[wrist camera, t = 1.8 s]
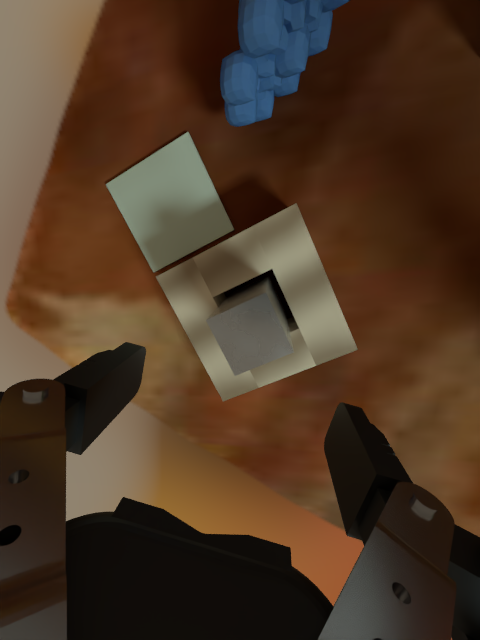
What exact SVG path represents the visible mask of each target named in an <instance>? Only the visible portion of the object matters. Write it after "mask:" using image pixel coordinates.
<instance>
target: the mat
mask: <svg viewBox="0 0 480 640" xmlns="http://www.w3.org/2000/svg"><path fill="white" fill-rule="evenodd" d="M106 186H107V188H108V189H109V191H110V193H111V195H112V197H113V199H114V200H115V202H116V204H117V206H118V208H119V210H120V212H121V213H122V215H123V217H124V219H125V221H126V223H127V225H128V226H129V228H130V230H131V232H132V234H133V236H134V237H135V239H136V241H137V243H138V245H139V247H140V249H141V250H142V252H143V254H144V256H145V258H146V260H147V261H148V263H149V265H150V267H151V269H152V271H153V272H156V271H158V270H160V269H162V268H163V267H165V266H167V265H169V264H171V263H173V262H175V261H177V260H179V259H180V258H182V257H184V256H186V255H188V254H190V253H192V252H194V251H196V250H197V249H199V248H201V247H203V246H205V245H207V244H209V243H211V242H213V241H214V240H216V239H218V238H220V237H222V236H224V235H226V234H228V233H230V232H232V231H233V230H234V228H233V226H232V224H231V222H230V219H229V217H228V215H227V213H226V211H225V209H224V207H223V205H222V202H221V200H220V198H219V196H218V194H217V192H216V190H215V187H214V185H213V183H212V181H211V179H210V177H209V175H208V173H207V170H206V168H205V166H204V164H203V162H202V160H201V158H200V156H199V153H198V151H197V149H196V147H195V145H194V143H193V141H192V138H191V136H190V134H189V133H188V132H187V133H185V134H184V135H182V136H181V137H179V138H177V139H176V140H174V141H173V142H171V143H170V144H168V145H167V146H165V147H163V148H162V149H160V150H159V151H157V152H156V153H154V154H152V155H151V156H149V157H148V158H146V159H145V160H143V161H141V162H140V163H138V164H137V165H135V166H134V167H132V168H131V169H129V170H127V171H126V172H124V173H123V174H121V175H120V176H118V177H116V178H115V179H113V180H112V181H110V182H109V183H107V184H106Z"/></svg>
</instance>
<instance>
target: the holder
mask: <svg viewBox="0 0 480 640" xmlns="http://www.w3.org/2000/svg"><path fill="white" fill-rule="evenodd" d="M271 269H272V270H273V272H274V274H275V276H276V279H277V281H278V283H279V285H280V287H281V290H282V292H283V294H284V296H285V298H286V301H287V303H288V305H289V307H290V309H291V311H292V314H293V317H291V318H289V319H287V321H288V326H289V330H290V335H291V340H292V345H293V350H294V352H293V353H291V354H288V355H286V356H283V357H281V358H278V359H276V360H273V361H271V362H268V363H266V364H264V365H261V366H259V367H256V368H254V369H251V370H249V371H246V372H244V373H241V374H239V375H236V376H235V375H234V373H233V371H232V369H231V368H230V366H229V364H228V362H227V360H226V358H225V356H224V354H223V352H222V350H221V348H220V346H219V345H218V343H217V341H216V339H215V337H214V335H213V333H212V331H211V329H210V327H209V325H208V323H207V322H206V319H207V318H208V317H209V316H210V315H211V314H212V313H213V312H214V311H215V310H216V309H217V308H218V307H219V306H220V304H221V303H222V302H223V301H224V300H225V299H226V296H225V294H224V292H225V291H227V290H229V289H231V288H233V287H235V286H238V285H240V284H242V283H244V282H246V281H248V280H250V279H252V278H254V277H256V276H258V275H260V274H263V273H265V272H267V271H269V270H271ZM156 278H157V280H158V282H159V284H160V285H161V287H162V289H163V291H164V293H165V295H166V297H167V298H168V300H169V302H170V304H171V306H172V308H173V309H174V311H175V313H176V315H177V317H178V319H179V321H180V322H181V324H182V326H183V328H184V330H185V332H186V333H187V335H188V337H189V339H190V341H191V343H192V345H193V346H194V348H195V350H196V352H197V354H198V356H199V358H200V359H201V361H202V363H203V365H204V367H205V369H206V370H207V372H208V374H209V376H210V378H211V380H212V382H213V383H214V385H215V387H216V389H217V391H218V393H219V394H220V396H221V398H222V400H223V401H225V400H228V399H231V398H233V397H236V396H238V395H241V394H244V393H246V392H249V391H251V390H254V389H257V388H259V387H262V386H264V385H267V384H270V383H272V382H275V381H277V380H280V379H283V378H285V377H288V376H290V375H293V374H296V373H298V372H301V371H303V370H306V369H309V368H311V367H314V366H316V365H319V364H322V363H324V362H327V361H329V360H332V359H335V358H337V357H340V356H342V355H345V354H347V353H350V352H353V351H355V350H358V349H357V347H356V344H355V342H354V340H353V337H352V335H351V332H350V330H349V328H348V325H347V323H346V321H345V318H344V316H343V313H342V311H341V309H340V306H339V304H338V301H337V299H336V297H335V294H334V292H333V290H332V287H331V285H330V282H329V280H328V278H327V275H326V273H325V270H324V268H323V266H322V263H321V261H320V258H319V256H318V254H317V251H316V249H315V247H314V244H313V242H312V239H311V237H310V235H309V232H308V230H307V227H306V225H305V223H304V220H303V218H302V216H301V213H300V211H299V208H298V206H297V204H294V205H292V206H290V207H288V208H286V209H284V210H282V211H281V212H279V213H277V214H275V215H273V216H271V217H269V218H267V219H265V220H263V221H261V222H260V223H258V224H256V225H254V226H252V227H250V228H248V229H246V230H244V231H242V232H240V233H239V234H237V235H235V236H233V237H231V238H229V239H227V240H225V241H223V242H221V243H219V244H218V245H216V246H214V247H212V248H210V249H208V250H206V251H204V252H202V253H200V254H198V255H197V256H195V257H193V258H191V259H189V260H187V261H185V262H183V263H181V264H179V265H177V266H176V267H174V268H172V269H170V270H168V271H166V272H164V273H162V274H160V275H158V276H156Z"/></svg>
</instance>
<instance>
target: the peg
mask: <svg viewBox="0 0 480 640" xmlns="http://www.w3.org/2000/svg"><path fill="white" fill-rule="evenodd" d="M206 322H207V323H208V325H209V327H210V329H211V331H212V333H213V335H214V337H215V339H216V341H217V343H218V345H219V346H220V348H221V350H222V352H223V354H224V356H225V358H226V360H227V362H228V364H229V366H230V368H231V369H232V371H233V373H234V375H235V376H236V375H239V374H241V373H244V372H246V371H249V370H251V369H254V368H256V367H259V366H261V365H264V364H266V363H268V362H271V361H273V360H276V359H278V358H281V357H283V356H286V355H288V354H291V353H293V352H294V350H293V345H292V340H291V335H290V330H289V326H288V321H287V316H286V312H285V310H284V307H283V305H282V303H281V301H280V299H279V297H278V294H277V292H276V290H275V288H274V286H273V284H272V281H271V279H270V277H269V275H268V276H266V277H263V278H261V279H259V280H257V281H255V282H253V283H251V284H249V285H247V286H245V287H242V288H240V289H238V290H236V291H234V292H232V293H231V294H230V295H229V296H228V297H227V298H226V299H225V300H224V301H223V302H222V303H221V304H220V306H219V307H218V308H217V309H216V310H215V311H214V312H213V313H212V314H211V315H210V316H209V317H208V318H207V319H206Z"/></svg>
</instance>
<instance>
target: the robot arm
mask: <svg viewBox="0 0 480 640" xmlns="http://www.w3.org/2000/svg"><path fill="white" fill-rule="evenodd" d="M145 355H146V349H145V347H143V346H139V345H136V344H132V343H128V342H125V343H124V344H122V345H121V346H119V347H118V348H116V349H115V350H113V351H112V350H107V351H103V352H100V353H96V354H95V355H93V356H91V357H90V358H88V359H87V360H85V361H83V362H81V363H80V364H79V365H77V366H75V367H73V368H72V369H70V370H68V371H67V372H65V373H63V374H62V375H60V376H58V377H57V378H55V379H54V380H50V379H31V380H26V381H22V382H19V383H17V384H14V385H12V386H11V387H9V388H8V389H7V390H6V391H5V392H0V640H451V637H452V640H480V537H478V536H476V535H474V534H472V533H470V532H469V531H467V530H465V529H463V528H461V527H459V526H457V525H455V524H454V519H453V517H452V515H451V514H450V512H449V511H448V509H447V508H446V507H445V506H444V505H443V503H442V502H441V501H439V500H438V499H437V498H436V497H435V496H434V495H432V494H431V493H430V492H428V491H427V490H425V489H423V488H422V487H420V486H418V485H415V484H413V482H412V481H411V479H410V478H409V476H408V474H407V473H406V471H405V469H404V468H403V466H402V464H401V463H400V461H399V459H398V458H397V456H395V453H394V451H393V449H392V448H391V447H390V444H389V443H388V441H387V439H386V438H385V436H384V434H382V433H381V432H380V431H379V430H378V429H377V428H376V427H375V426H374V425H373V424H370V422H369V420H368V418H367V417H366V415H365V413H364V411H363V410H362V408H360V407H357V406H353V405H349V404H346V403H340V404H339V405H338V407H337V409H336V411H335V414H334V416H333V419H332V421H331V424H330V426H329V429H328V431H327V434H326V437H325V442H324V451H325V455H326V459H327V462H328V466H329V470H330V474H331V478H332V482H333V485H334V489H335V493H336V497H337V501H338V504H339V508H340V512H341V516H342V520H343V523H344V527H345V531H346V535H347V536H350V537H353V538H356V539H360V540H362V541H363V544H364V548H363V550H362V552H361V554H360V556H359V557H358V560H357V561H356V563H355V565H354V567H353V569H352V571H351V573H350V575H349V577H348V579H347V581H346V583H345V585H344V587H343V589H342V591H341V593H340V595H339V597H338V599H337V601H336V602H335V604H334V606H333V605H332V604H331V603H330V602H329V600H328V599H327V598H326V596H325V595H324V594H323V593H322V592H321V591H320V590H319V589H318V587H317V586H316V585H315V584H314V583H312V582H311V581H310V580H309V579H308V578H307V577H306V576H304V575H303V574H302V573H301V572H299V571H298V570H297V569H295V568H294V567H292V565H291V550H290V547H286V546H283V545H280V544H277V543H273V542H270V541H267V540H263V539H260V538H257V537H253V536H250V535H226V534H204V533H201V532H199V531H197V530H196V529H194V528H192V527H191V526H189V525H188V524H186V523H184V522H183V521H181V520H180V519H178V518H177V517H175V516H173V515H172V514H170V513H169V512H167V511H165V510H164V509H161V508H158V507H154V506H151V505H148V504H144V503H141V502H137V501H134V500H131V499H128V498H125V497H123V498H122V499H121V501H120V503H119V505H118V506H117V508H116V510H115V511H114V512H99V513H93V514H88V515H83V516H80V517H77V518H74V519H71V520H68V521H66V452H67V451H69V452H72V453H75V454H79V455H81V454H82V453H83V452H84V451H85V450H86V449H87V447H88V446H89V445H90V444H91V443H92V442H93V441H94V440H95V439H96V438H97V437H98V436H99V435H100V433H101V432H102V431H103V430H104V429H105V428H106V427H107V426H108V425H109V423H110V422H111V421H112V420H113V419H114V418H115V417H116V416H117V415H118V414H119V413H120V412H121V411H122V409H123V408H124V407H125V406H126V405H127V404H128V403H129V402H130V401H131V400H132V399H133V398H134V396H135V395H136V393H137V392H138V389H139V387H140V384H141V379H142V373H143V367H144V361H145Z"/></svg>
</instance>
